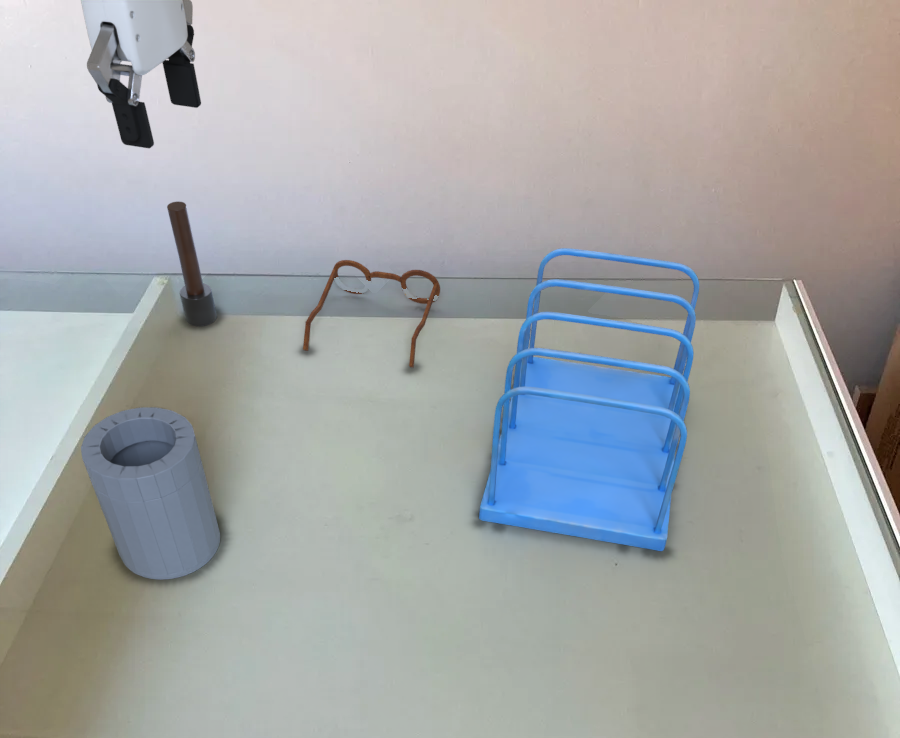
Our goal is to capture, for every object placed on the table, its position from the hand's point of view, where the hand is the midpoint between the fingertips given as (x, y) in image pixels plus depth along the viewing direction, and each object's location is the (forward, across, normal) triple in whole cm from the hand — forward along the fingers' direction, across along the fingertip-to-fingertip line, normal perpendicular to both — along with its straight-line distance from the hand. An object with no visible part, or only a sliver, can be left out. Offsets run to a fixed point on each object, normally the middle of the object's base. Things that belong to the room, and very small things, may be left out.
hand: (163, 124), depth 90 cm
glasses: (+22, -4, +19) cm, 30 cm away
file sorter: (+22, +10, +47) cm, 53 cm away
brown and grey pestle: (+22, 0, -1) cm, 22 cm away
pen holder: (+22, +34, +14) cm, 43 cm away
